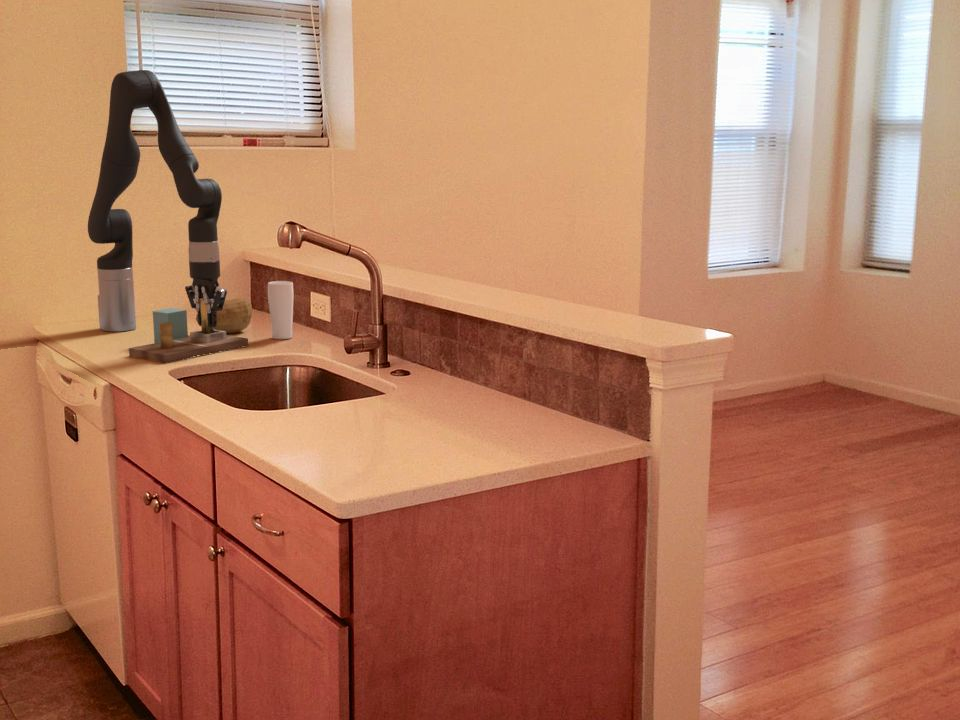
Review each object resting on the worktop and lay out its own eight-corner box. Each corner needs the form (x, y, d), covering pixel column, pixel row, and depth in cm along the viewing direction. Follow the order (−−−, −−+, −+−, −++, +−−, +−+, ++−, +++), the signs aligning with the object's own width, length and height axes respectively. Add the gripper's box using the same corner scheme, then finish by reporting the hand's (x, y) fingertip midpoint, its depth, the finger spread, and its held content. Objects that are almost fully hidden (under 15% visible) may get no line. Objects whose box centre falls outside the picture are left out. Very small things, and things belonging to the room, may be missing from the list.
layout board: (129, 356, 266) (127, 324, 264) (212, 339, 286) (210, 310, 284) (166, 363, 258) (164, 330, 256) (248, 346, 278) (247, 315, 276)
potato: (193, 332, 296) (191, 299, 294) (249, 328, 303) (247, 295, 301) (200, 338, 289) (198, 303, 287) (257, 333, 296) (256, 299, 294)
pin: (199, 334, 275) (197, 299, 274) (208, 332, 278) (206, 298, 276) (207, 335, 274) (205, 300, 272) (216, 334, 276) (214, 299, 274)
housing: (154, 344, 280) (152, 311, 278) (173, 340, 285) (171, 308, 283) (169, 347, 276) (167, 313, 275) (188, 343, 281) (186, 310, 279)
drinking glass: (298, 336, 292) (296, 281, 289) (291, 340, 285) (289, 284, 282) (273, 335, 293) (271, 280, 289) (266, 340, 286) (264, 284, 283)
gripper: (174, 258, 273) (178, 325, 276) (211, 262, 265) (214, 331, 268) (197, 255, 279) (201, 321, 282) (234, 259, 271) (237, 327, 274)
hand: (207, 326), depth 275 cm, fingers closed on pin, 3 cm apart
